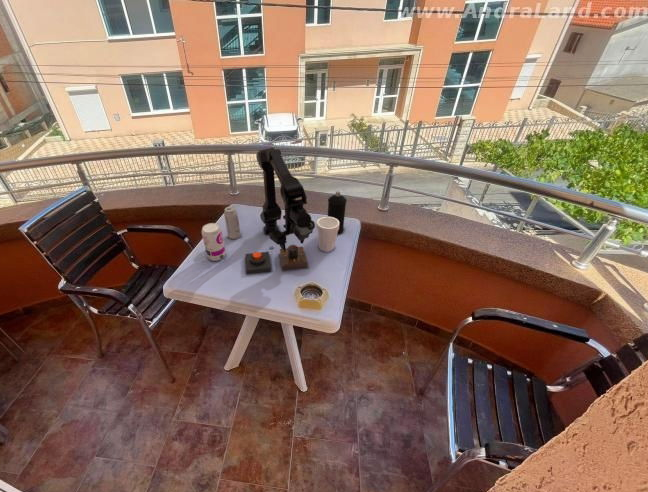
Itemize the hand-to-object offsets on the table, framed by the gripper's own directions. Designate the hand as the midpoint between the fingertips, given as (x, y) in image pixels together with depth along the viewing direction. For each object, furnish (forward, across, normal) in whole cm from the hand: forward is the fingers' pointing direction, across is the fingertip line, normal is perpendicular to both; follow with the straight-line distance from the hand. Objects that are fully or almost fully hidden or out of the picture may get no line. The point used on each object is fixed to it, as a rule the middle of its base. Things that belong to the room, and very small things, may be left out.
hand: (293, 247), depth 131 cm
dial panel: (+7, 0, 0) cm, 7 cm away
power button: (+4, -13, +8) cm, 15 cm away
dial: (+4, 0, 0) cm, 4 cm away
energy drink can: (+7, -10, +33) cm, 35 cm away
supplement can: (+7, -24, +24) cm, 35 cm away
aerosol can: (+7, +30, +6) cm, 31 cm away
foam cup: (+7, +17, -2) cm, 19 cm away
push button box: (+7, -13, +8) cm, 17 cm away
